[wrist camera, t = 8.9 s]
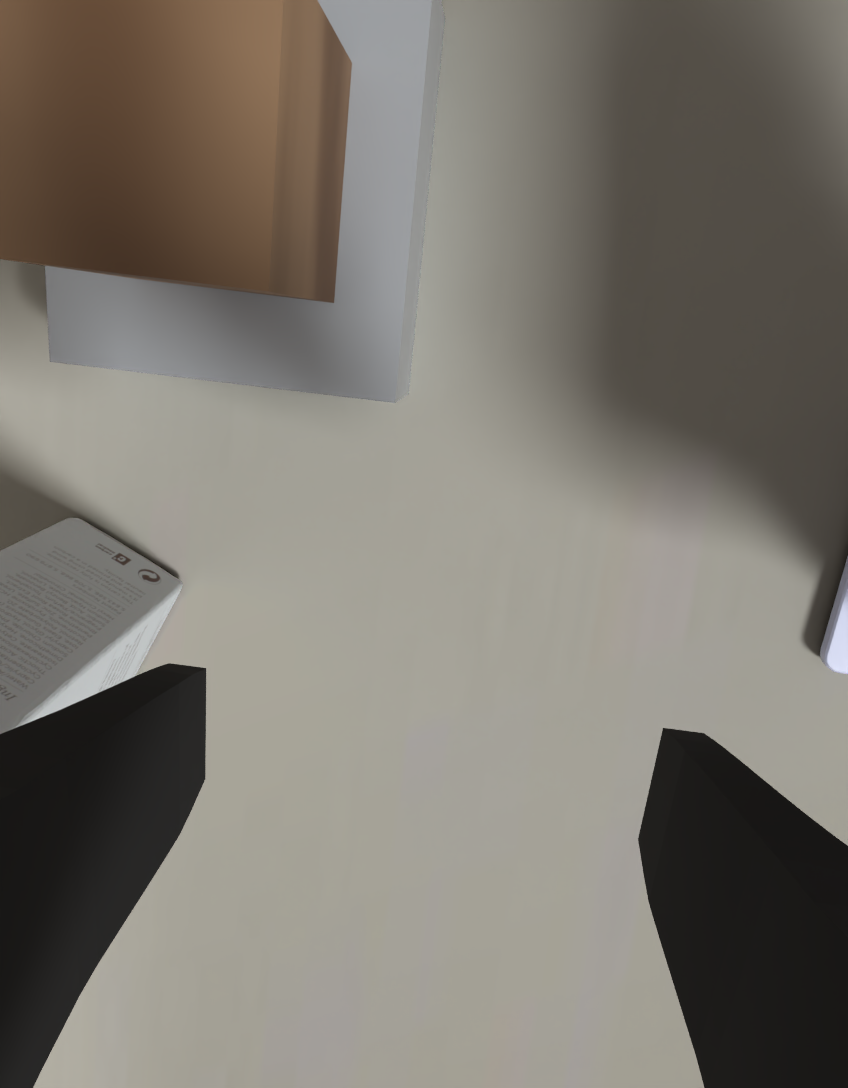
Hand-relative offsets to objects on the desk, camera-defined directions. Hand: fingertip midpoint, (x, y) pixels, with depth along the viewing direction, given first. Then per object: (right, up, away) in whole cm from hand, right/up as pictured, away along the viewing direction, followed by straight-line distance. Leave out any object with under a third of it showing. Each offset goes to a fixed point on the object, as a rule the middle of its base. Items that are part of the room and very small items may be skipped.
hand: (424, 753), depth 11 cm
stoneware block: (-4, +12, +8) cm, 16 cm away
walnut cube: (-4, +12, +5) cm, 14 cm away
